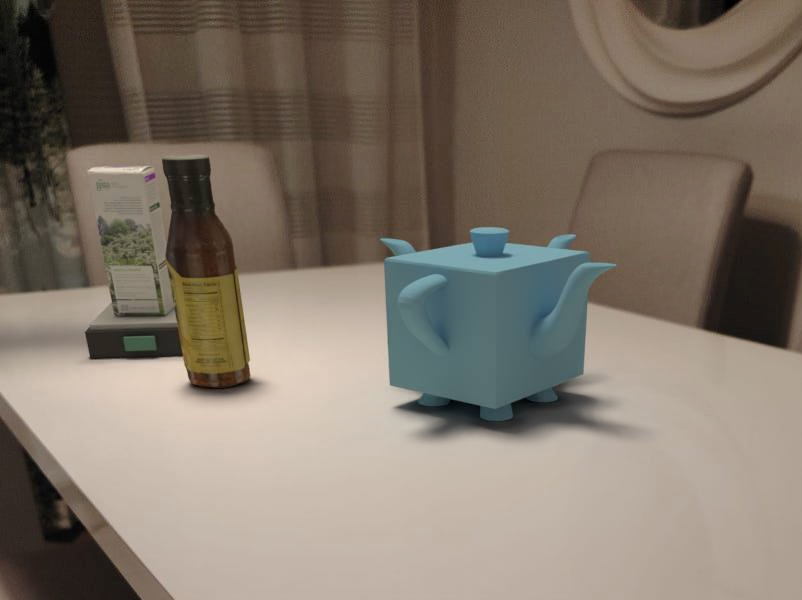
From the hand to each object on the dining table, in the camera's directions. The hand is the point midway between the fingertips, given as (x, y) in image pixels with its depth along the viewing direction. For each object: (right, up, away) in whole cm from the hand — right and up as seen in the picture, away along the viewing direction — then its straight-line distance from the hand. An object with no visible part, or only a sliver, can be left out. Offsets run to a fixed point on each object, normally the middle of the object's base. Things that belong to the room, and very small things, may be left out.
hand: (1, 14), depth 97 cm
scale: (+12, -31, +9) cm, 35 cm away
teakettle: (+51, -42, -9) cm, 67 cm away
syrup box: (+12, -28, +8) cm, 32 cm away
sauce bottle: (+24, -40, -5) cm, 46 cm away
